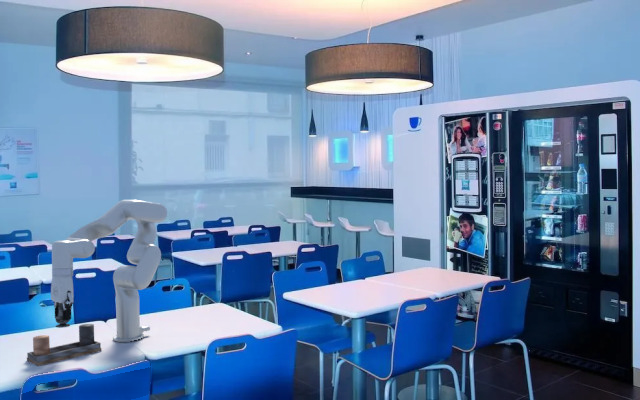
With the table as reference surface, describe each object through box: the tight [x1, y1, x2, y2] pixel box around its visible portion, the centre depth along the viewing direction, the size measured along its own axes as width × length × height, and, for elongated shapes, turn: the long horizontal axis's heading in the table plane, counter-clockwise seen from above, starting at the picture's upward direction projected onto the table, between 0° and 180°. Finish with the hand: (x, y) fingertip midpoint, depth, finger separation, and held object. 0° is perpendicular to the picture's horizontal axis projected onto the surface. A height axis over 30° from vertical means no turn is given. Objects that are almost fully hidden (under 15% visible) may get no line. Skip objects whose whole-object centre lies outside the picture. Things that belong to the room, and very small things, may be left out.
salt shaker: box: [54, 300, 71, 328], centre depth 236 cm, size 6×6×12 cm
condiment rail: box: [26, 323, 102, 367], centre depth 236 cm, size 25×10×10 cm, turn 138°
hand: (63, 318), depth 236 cm, fingers closed on salt shaker, 5 cm apart
